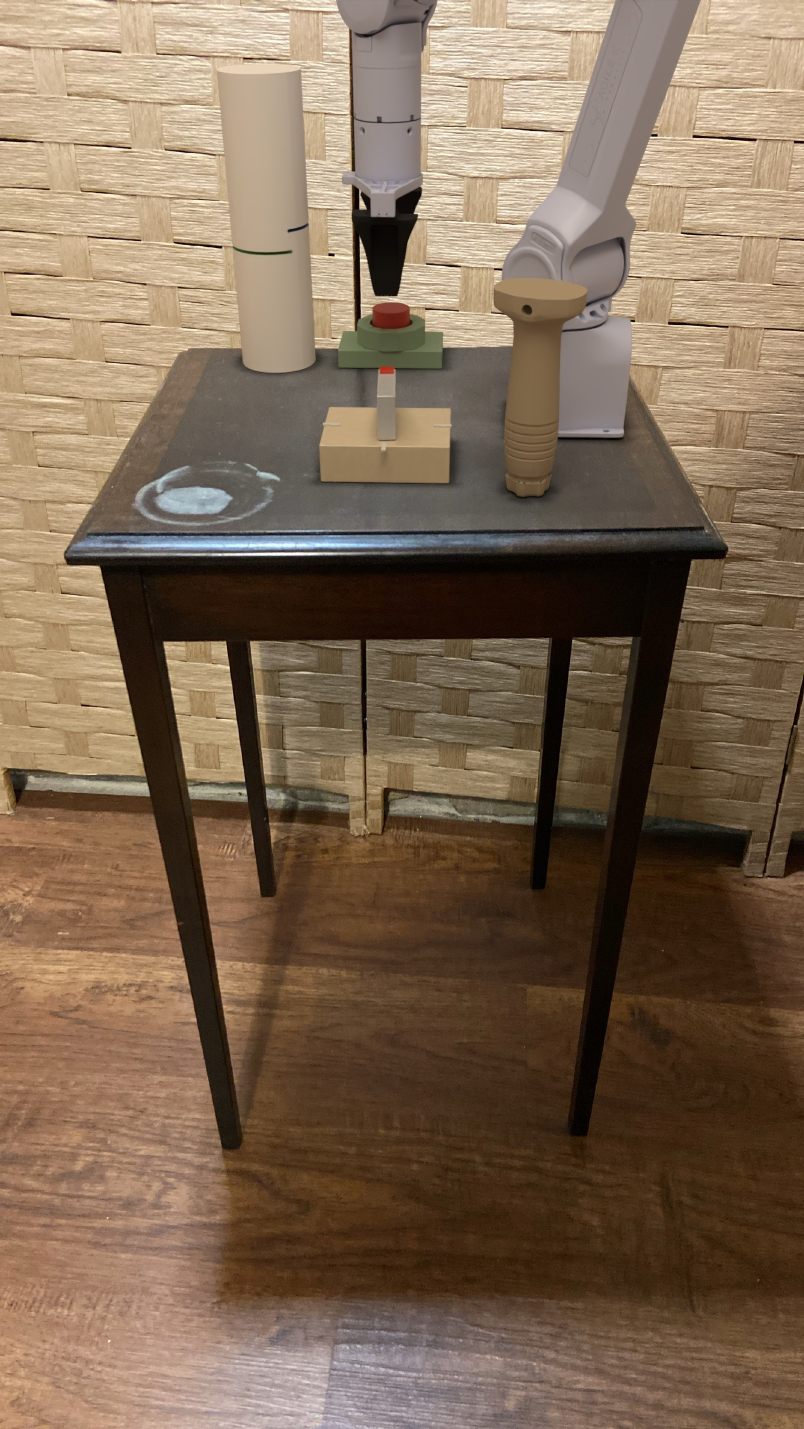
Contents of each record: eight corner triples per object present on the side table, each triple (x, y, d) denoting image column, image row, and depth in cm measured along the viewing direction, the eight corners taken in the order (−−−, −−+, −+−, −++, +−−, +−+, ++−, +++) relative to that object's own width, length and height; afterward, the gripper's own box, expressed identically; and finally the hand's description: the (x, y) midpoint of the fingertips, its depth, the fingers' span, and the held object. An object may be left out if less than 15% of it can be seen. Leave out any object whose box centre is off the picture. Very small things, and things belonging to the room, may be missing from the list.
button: (410, 320, 110) (410, 302, 109) (409, 331, 108) (409, 313, 106) (373, 320, 111) (373, 301, 110) (371, 331, 108) (371, 313, 107)
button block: (442, 347, 113) (443, 312, 111) (441, 369, 108) (442, 332, 106) (343, 346, 114) (342, 311, 112) (338, 368, 108) (336, 332, 106)
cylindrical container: (330, 359, 111) (318, 67, 96) (275, 378, 106) (254, 76, 92) (282, 343, 115) (263, 61, 100) (227, 360, 110) (199, 68, 96)
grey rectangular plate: (395, 440, 86) (395, 392, 84) (377, 440, 86) (376, 392, 84) (396, 411, 91) (395, 365, 89) (378, 411, 91) (378, 365, 89)
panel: (451, 437, 95) (452, 401, 93) (450, 489, 86) (451, 450, 85) (330, 436, 95) (329, 399, 93) (318, 487, 87) (315, 449, 85)
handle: (556, 510, 83) (573, 303, 74) (476, 494, 86) (483, 291, 77) (577, 485, 87) (596, 284, 78) (500, 470, 89) (509, 274, 80)
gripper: (348, 104, 102) (352, 261, 110) (331, 132, 90) (337, 305, 98) (426, 104, 101) (424, 262, 109) (420, 132, 90) (418, 307, 98)
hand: (388, 283), depth 104 cm, fingers open, 7 cm apart
